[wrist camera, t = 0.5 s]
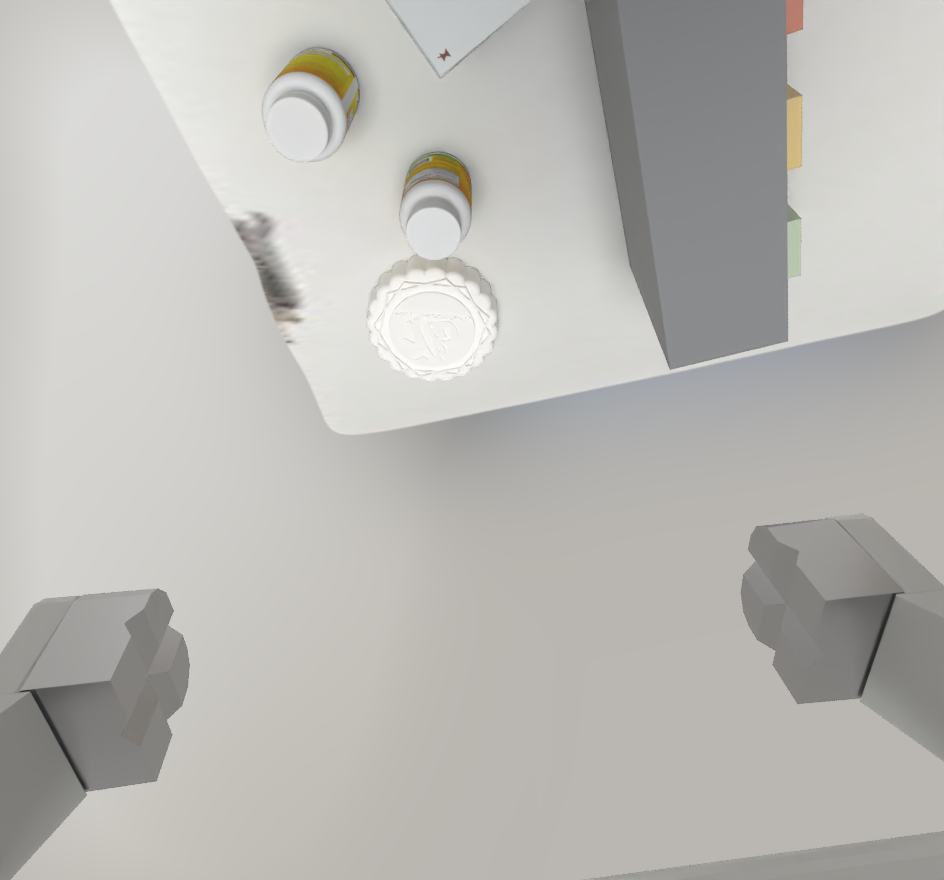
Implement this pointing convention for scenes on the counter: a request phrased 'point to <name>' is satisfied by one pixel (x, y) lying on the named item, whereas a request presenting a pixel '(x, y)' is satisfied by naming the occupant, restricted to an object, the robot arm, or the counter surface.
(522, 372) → the counter surface
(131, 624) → the robot arm
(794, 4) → the button brick
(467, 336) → the mooncake
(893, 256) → the counter surface
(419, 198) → the supplement bottle
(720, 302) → the console
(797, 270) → the button sage
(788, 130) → the button ochre
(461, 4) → the supplement box
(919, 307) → the counter surface
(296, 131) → the supplement bottle
